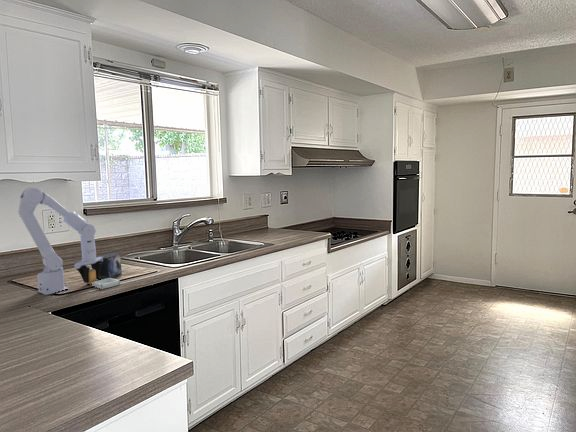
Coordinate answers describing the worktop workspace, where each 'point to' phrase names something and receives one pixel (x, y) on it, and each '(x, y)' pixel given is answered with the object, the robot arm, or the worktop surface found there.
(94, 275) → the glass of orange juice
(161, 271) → the worktop surface
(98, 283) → the tray
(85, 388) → the worktop surface
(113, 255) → the small box
